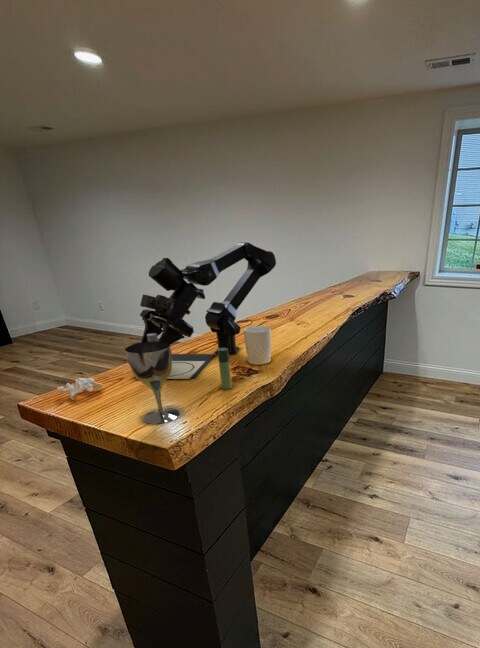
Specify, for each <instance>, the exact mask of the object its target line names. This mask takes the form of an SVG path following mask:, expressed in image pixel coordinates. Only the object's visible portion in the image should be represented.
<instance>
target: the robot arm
mask: <svg viewBox="0 0 480 648" xmlns="http://www.w3.org/2000/svg"><path fill="white" fill-rule="evenodd" d="M276 259H277V258H276V255H275V253H274V252H273V251H270V250H266V249H263V248H260V247H258V246H255V245H254V244H252V243H250V242H248V241H243V242H242V241H241V242H237V243H236V244H235V245H233V246H232V247H229V248H228V249H226V250H224V251H222V252H221V253H219V254H216V255H215V256H213V257H211V258H209V259H206V260H199V261H195V262H192V263H189V264H187V265H186V266H185V268H182V269H180V268H178V266H177V265H175V264H174V262H173V261H172V260H171V259H170V258H169V257H162V259H161V260H159V261H158V262H156V263H155V264H154V265H152V266H151V268H150V269H149V271H148V276H149V278H151V279H152V280H153V281H154V282H156V283H157V284H158V285H159V286H160V287H161V288H163V289H164V290H165V291H167V292H170V291H173V292H172V293H171V295H169V297H167V296H165V295H163V294H157V295H155V296H152V295H148V294H142V295H141V296H142V297H141V301H140V304H139V305H140V307H142V308H145V309H142V311H141V312H140V314H139V316H140V317H141V320H142V321H143V324H144V331H143V334H142V338H141V341H140V343H142V342H148V339H147V334H150V333H156V334H157V337H158V336H160V337H159V338H158V341H161V342H167V343H169V344H170V346H171V345H173V344H174V343H176V342H179V341H180V340H182V339H185V338H186V337H187V338H191V337H192V336H193V334H194V333H195V331H194V327H193V326H192V325H191V324H189V323H188V322H187V321H186V320H184V318H185V316H186V315H188V316H189V315H191V311H190V309H191V307H192V306H193V304H194V302H195V301H196V299H201V300H206V295H205V291H204V289H203V288H198V287H197V286H204V287H205V286H209V285H211V284H212V283H213V282H214V281H215V280H216V279H217V278H218V276H219V274H221V272H224V271H225V270H227V269H228V268H230V267H231V266H233V265H235V264H237V263H239V262H240V261H242V260H245V261H247V266H246V267H247V268H246V270H245V271H244V272H243V274H242V275H241V277H240V278H239V279H238V281H236V283H235V285H234V286H233V287H232V289H231V290H230V291H229V293H228V294H227V295H226V297H225V298H224V299H223V300H222V301H221V302H218V301H213V302H212V303H211V305H210V307H208V309H207V310H206V314H205V316H204V319H205V325H206V326H207V327H209V329H210V331H211V333H215V334H216V340H217V349H219V348H228V353H229V355H230V354H231V355H235V354H236V353H237V352H238V351H239V350H240V347H239V346H237V342H236V341H237V340H236V335H239V334H240V333H241V326H240V325H239V324H237V323H236V322H235V321H236V319H237V311H238V309H239V308H240V306H241V305H242V303H243V302H244V301H245V300H246V298H247V297H248V295H249V293H251V291H252V289H253V288H254V287H255V285H256V284H257V283H258V281H259V280H260V279H261V278H262V277H264V276H265V275H268V274H269V273H271V272H272V271H273V269H275V267H276V265H277V260H276ZM196 285H197V286H196ZM214 354H215V355H218V352H217V350H216V351H214Z"/></svg>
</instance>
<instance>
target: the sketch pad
mask: <svg viewBox="0 0 480 648" xmlns="http://www.w3.org/2000/svg"><path fill="white" fill-rule="evenodd" d="M215 356H216V354H215V353H202V354H201V353H172V370H171V373H170V375H169V377H168V378H167V379H166V380H190V379H196V377H197V376H198V375H199V374H200V373H201V372H202V370H203V369H204V368H205V367H206V366H207V365H208V364H209V363H210V362H211V360H212V359H213V358H214V357H215ZM133 379H135V380H138V379H137V378H136V377H135V376H133Z"/></svg>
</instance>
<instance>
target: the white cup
mask: <svg viewBox="0 0 480 648" xmlns="http://www.w3.org/2000/svg"><path fill="white" fill-rule="evenodd" d="M243 336H244V345H245V351H246V355H247V363H248V364H250V365H257V366H258V365H260V366H261V365H267V364H269V363H270V362H271V360H272V359H271V351H272V328H271V327H270V326H265V325H252V326H246V327H244V328H243Z"/></svg>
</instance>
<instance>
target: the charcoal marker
mask: <svg viewBox="0 0 480 648" xmlns="http://www.w3.org/2000/svg"><path fill="white" fill-rule="evenodd" d="M147 339H148V342H151V341H158V340H159V337H158V336H157V334H156V333H150V334H147Z"/></svg>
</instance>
